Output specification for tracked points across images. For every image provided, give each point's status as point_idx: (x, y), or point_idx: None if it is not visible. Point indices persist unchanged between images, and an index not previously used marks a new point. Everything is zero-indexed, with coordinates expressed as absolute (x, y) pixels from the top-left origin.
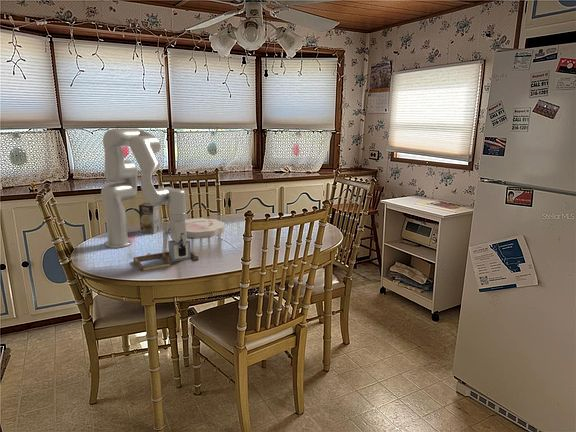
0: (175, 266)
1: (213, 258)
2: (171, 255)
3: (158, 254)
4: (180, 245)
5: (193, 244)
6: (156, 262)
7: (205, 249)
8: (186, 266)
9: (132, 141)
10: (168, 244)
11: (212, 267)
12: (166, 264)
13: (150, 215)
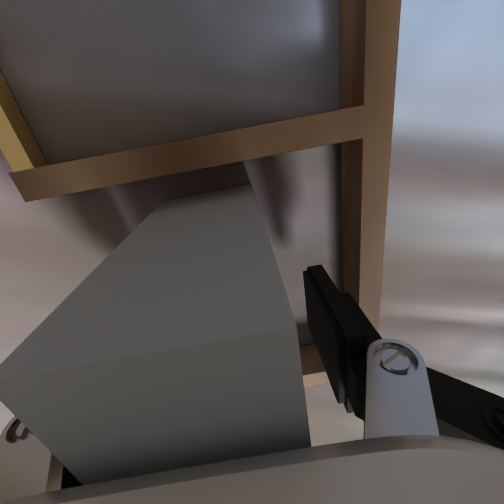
0: (19, 219)
1: None
2: (141, 224)
3: (362, 52)
4: (2, 473)
5: (497, 382)
6: (183, 5)
7: (355, 425)
8: (20, 303)
9: None
10: (267, 264)
11: (2, 430)
12: (9, 127)
13: None
